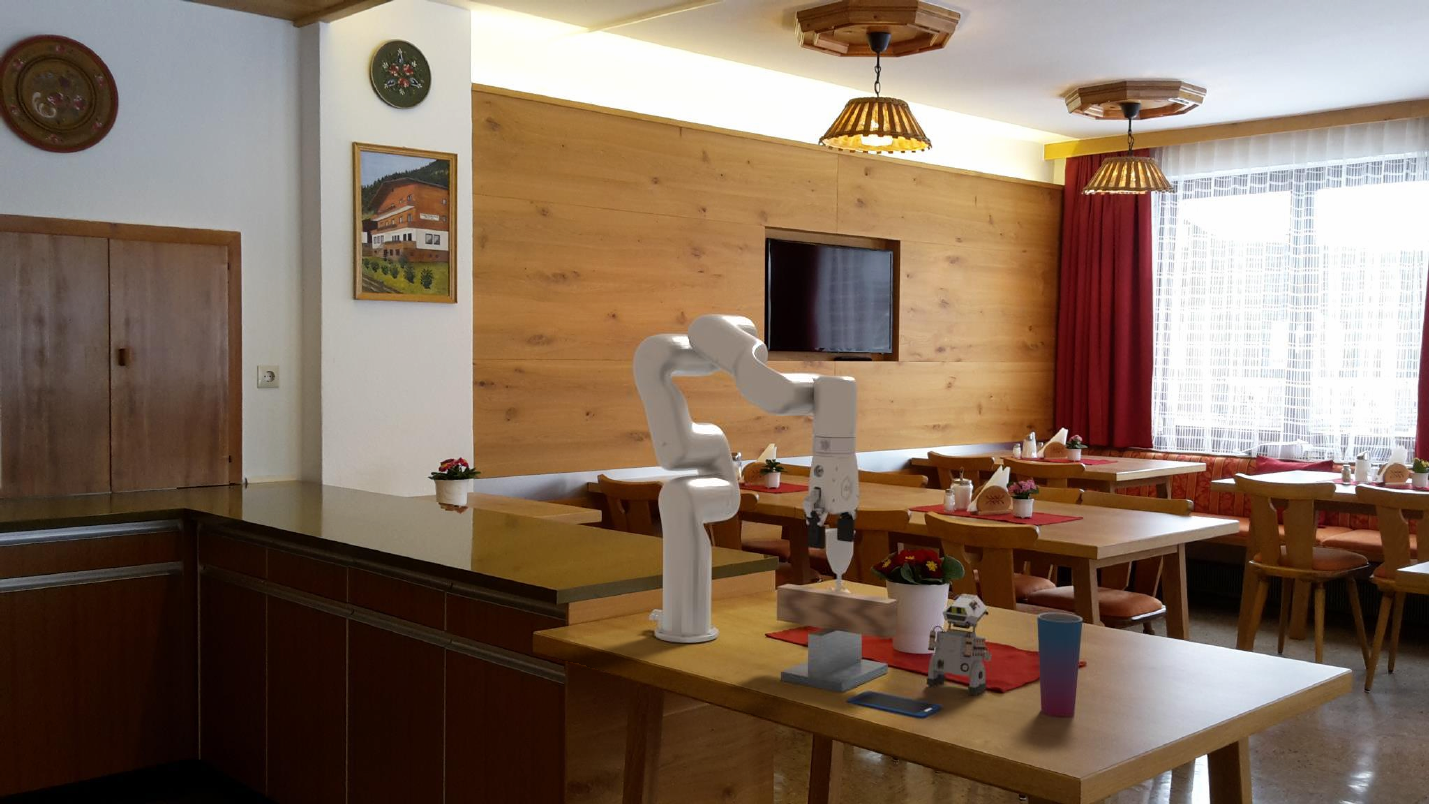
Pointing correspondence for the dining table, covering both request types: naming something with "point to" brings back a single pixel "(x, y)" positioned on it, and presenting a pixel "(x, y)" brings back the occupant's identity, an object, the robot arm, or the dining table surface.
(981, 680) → the figurine
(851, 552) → the chalice
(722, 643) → the dining table surface
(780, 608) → the wooden block
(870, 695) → the cell phone
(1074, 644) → the cup
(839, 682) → the ridge stand
